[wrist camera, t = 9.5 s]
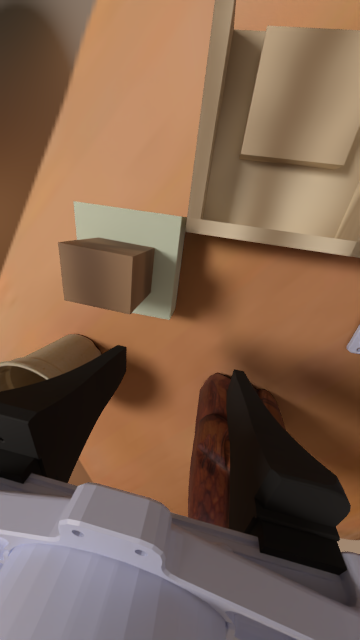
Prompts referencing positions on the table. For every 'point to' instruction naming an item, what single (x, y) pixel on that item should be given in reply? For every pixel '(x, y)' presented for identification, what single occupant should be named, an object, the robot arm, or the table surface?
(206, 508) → the wooden figurine
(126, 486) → the table surface
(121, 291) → the walnut block
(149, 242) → the sage stand
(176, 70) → the table surface
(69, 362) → the flower pot
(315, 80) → the birch box
